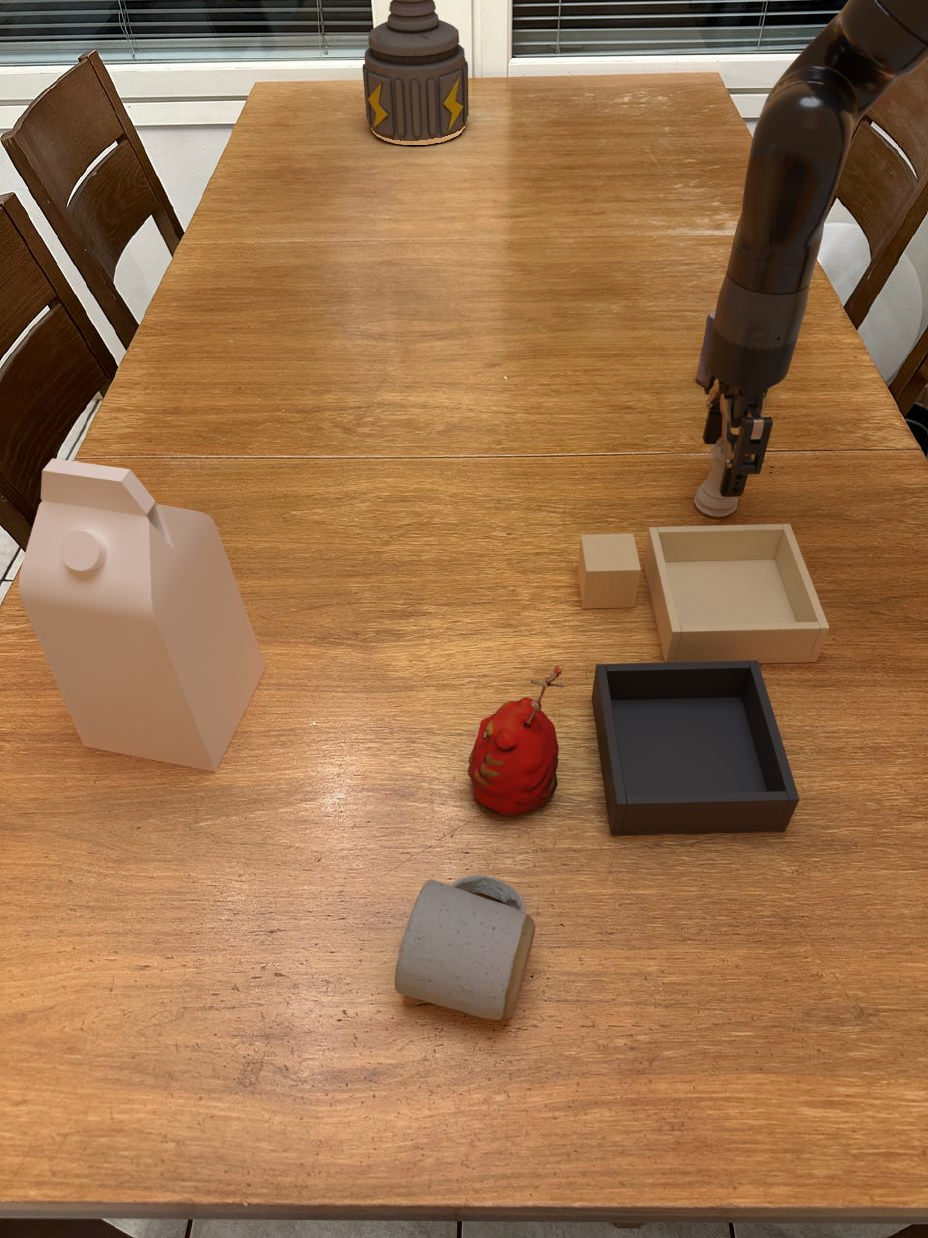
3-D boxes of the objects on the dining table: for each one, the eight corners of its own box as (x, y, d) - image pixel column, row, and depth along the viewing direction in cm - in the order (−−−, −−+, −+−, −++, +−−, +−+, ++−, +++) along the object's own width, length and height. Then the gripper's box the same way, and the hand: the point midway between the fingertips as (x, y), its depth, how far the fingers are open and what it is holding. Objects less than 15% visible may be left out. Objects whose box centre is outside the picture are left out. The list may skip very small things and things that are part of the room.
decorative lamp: (491, 126, 173) (492, -74, 151) (417, 157, 163) (407, -51, 141) (418, 102, 182) (409, -91, 160) (345, 130, 172) (324, -70, 150)
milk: (266, 667, 86) (203, 430, 66) (215, 772, 78) (128, 538, 59) (144, 646, 88) (49, 410, 68) (83, 746, 80) (-42, 512, 61)
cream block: (627, 570, 93) (633, 533, 90) (634, 607, 90) (641, 569, 86) (577, 572, 93) (580, 534, 90) (582, 608, 90) (586, 571, 86)
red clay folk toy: (491, 736, 80) (492, 615, 69) (570, 762, 78) (584, 642, 67) (456, 809, 75) (451, 691, 64) (539, 838, 73) (549, 722, 62)
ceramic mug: (511, 1044, 63) (515, 997, 57) (395, 1010, 64) (387, 961, 59) (546, 901, 70) (552, 847, 64) (440, 874, 72) (437, 819, 66)
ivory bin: (779, 558, 94) (790, 523, 91) (816, 662, 85) (829, 628, 82) (642, 561, 94) (648, 526, 91) (665, 666, 85) (672, 631, 82)
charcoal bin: (746, 694, 83) (757, 659, 79) (785, 831, 73) (800, 799, 70) (591, 697, 83) (595, 663, 79) (610, 835, 73) (616, 804, 70)
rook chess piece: (700, 487, 102) (713, 426, 96) (741, 499, 100) (757, 437, 95) (688, 512, 99) (700, 450, 93) (730, 524, 98) (745, 462, 92)
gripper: (820, 366, 79) (775, 513, 91) (779, 282, 89) (742, 425, 101) (731, 367, 79) (697, 514, 91) (699, 283, 89) (672, 426, 101)
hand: (721, 467), depth 96 cm, fingers open, 8 cm apart
